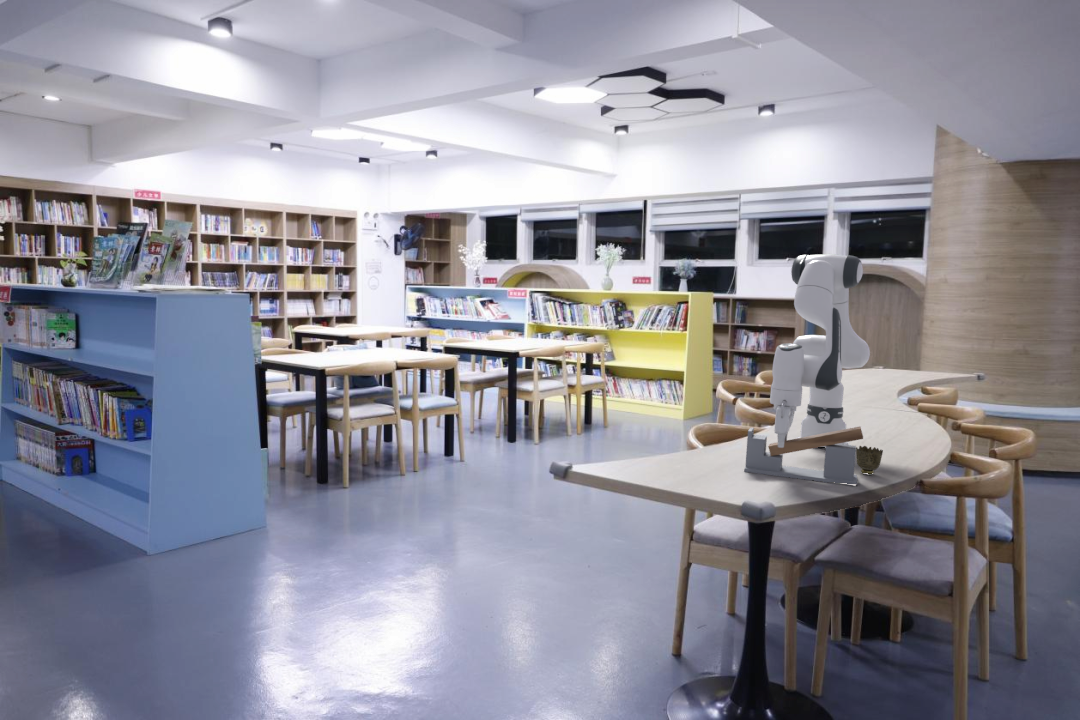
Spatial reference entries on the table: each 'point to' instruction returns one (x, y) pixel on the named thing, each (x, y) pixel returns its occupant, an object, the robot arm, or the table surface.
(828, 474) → the notched stand
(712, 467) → the table surface
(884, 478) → the table surface
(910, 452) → the table surface
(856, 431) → the walnut bar
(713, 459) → the table surface
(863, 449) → the cup
